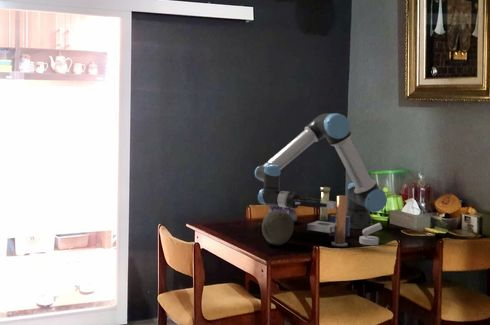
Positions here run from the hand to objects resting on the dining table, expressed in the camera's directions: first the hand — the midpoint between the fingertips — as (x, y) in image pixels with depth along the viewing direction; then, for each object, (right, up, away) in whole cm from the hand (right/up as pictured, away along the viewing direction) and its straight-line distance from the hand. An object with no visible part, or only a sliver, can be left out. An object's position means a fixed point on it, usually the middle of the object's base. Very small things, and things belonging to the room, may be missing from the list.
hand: (335, 205), depth 265 cm
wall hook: (+17, -18, +6) cm, 25 cm away
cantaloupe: (-26, -17, -3) cm, 32 cm away
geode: (-22, -13, +55) cm, 60 cm away
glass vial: (-5, -7, +3) cm, 9 cm away
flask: (+5, -16, +21) cm, 27 cm away
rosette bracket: (-3, -17, +3) cm, 18 cm away
